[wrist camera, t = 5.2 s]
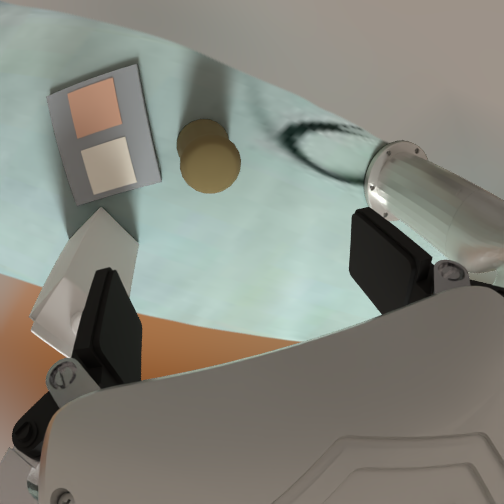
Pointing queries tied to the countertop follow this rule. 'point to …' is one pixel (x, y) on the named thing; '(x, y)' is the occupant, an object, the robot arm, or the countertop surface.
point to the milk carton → (81, 278)
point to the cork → (207, 156)
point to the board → (104, 135)
